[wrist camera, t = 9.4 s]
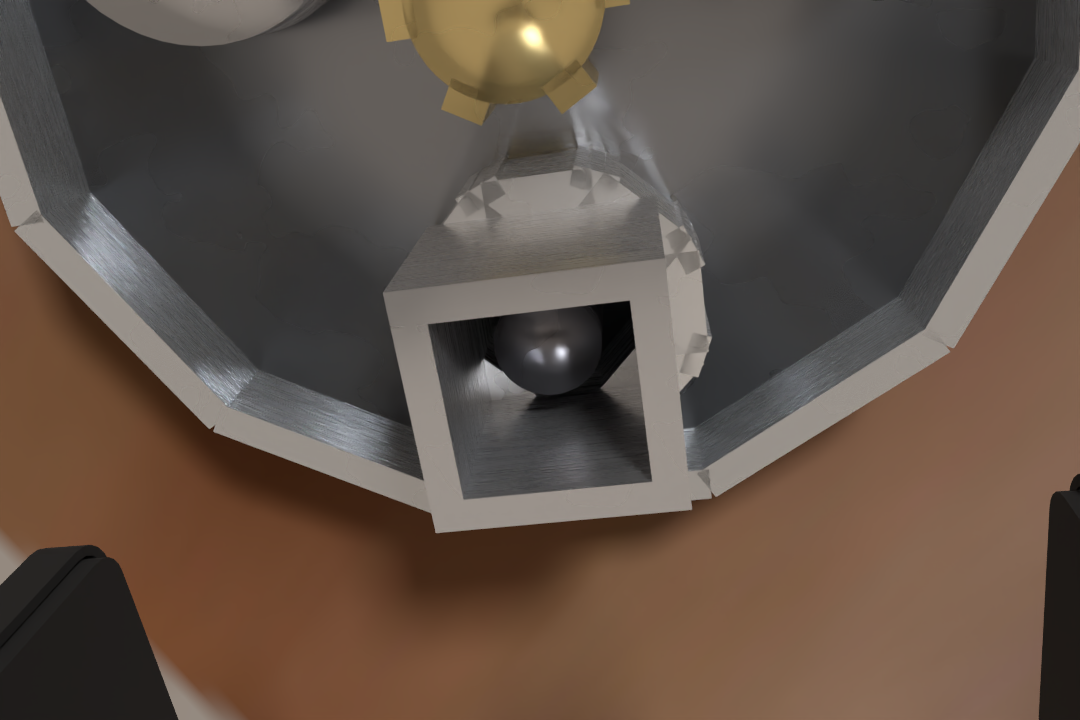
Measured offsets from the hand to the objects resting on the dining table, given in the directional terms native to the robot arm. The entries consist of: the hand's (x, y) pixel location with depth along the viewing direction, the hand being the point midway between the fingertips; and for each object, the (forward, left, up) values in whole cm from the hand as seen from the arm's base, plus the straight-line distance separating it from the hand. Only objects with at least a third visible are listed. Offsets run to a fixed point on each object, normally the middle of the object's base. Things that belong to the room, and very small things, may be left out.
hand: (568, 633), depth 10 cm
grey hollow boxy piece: (+1, 0, -12) cm, 12 cm away
